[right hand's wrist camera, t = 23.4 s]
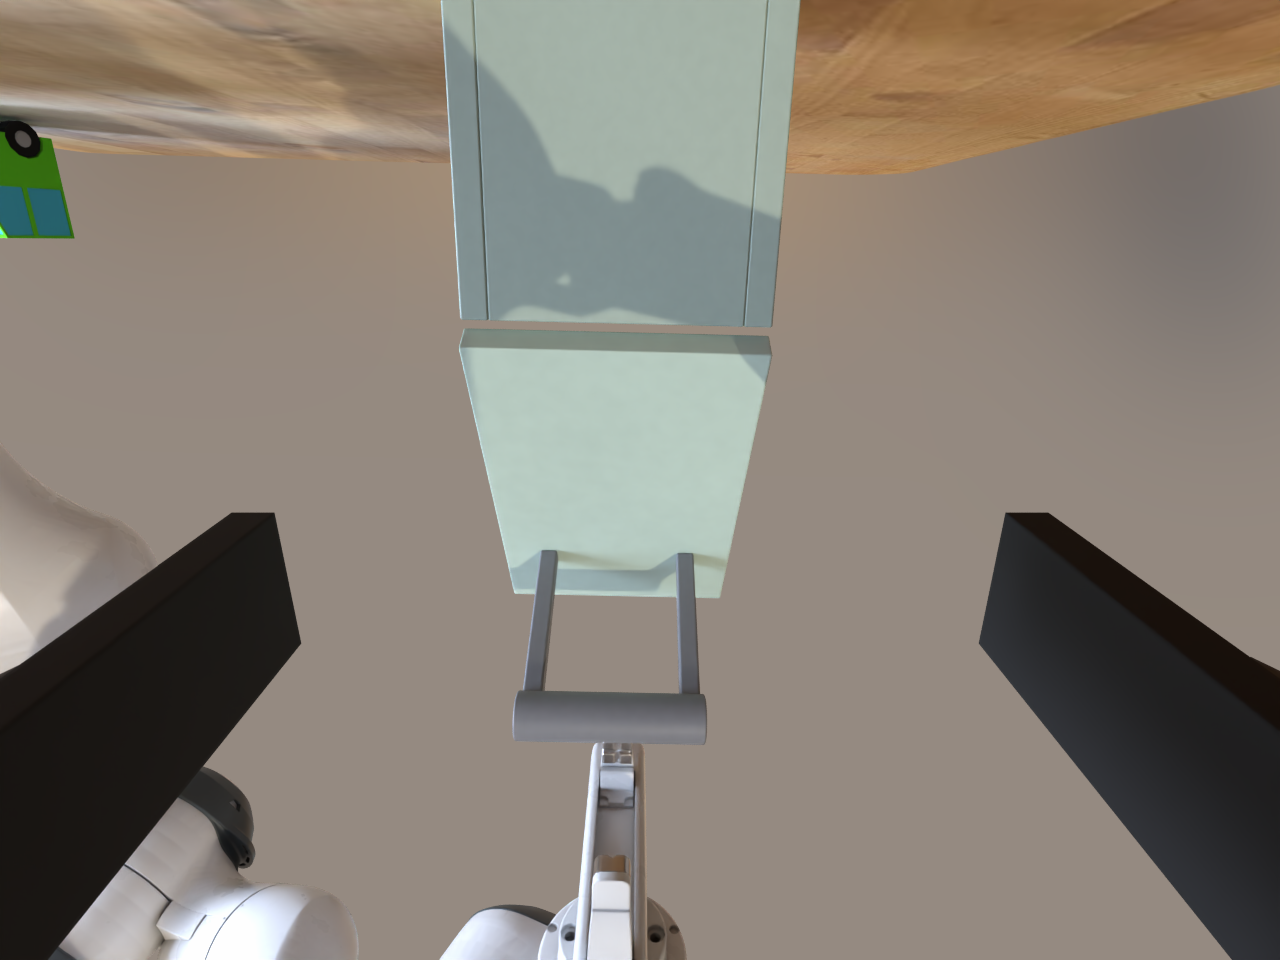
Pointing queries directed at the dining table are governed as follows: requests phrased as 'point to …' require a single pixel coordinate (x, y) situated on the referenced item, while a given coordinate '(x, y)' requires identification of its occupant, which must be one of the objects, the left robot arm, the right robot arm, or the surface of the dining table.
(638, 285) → the chest
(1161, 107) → the dining table surface
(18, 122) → the toy car
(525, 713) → the lid
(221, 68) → the dining table surface
